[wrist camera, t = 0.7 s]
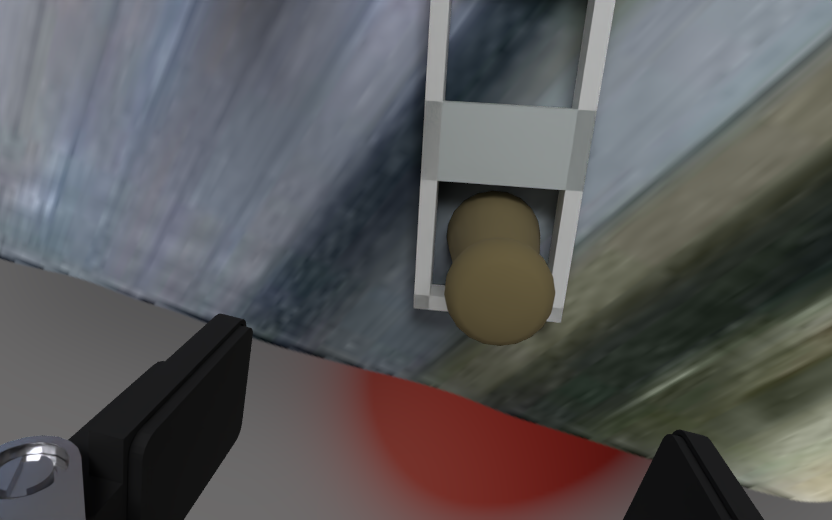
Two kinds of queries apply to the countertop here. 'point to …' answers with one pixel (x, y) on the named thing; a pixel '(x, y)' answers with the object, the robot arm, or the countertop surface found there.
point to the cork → (497, 270)
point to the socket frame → (508, 148)
